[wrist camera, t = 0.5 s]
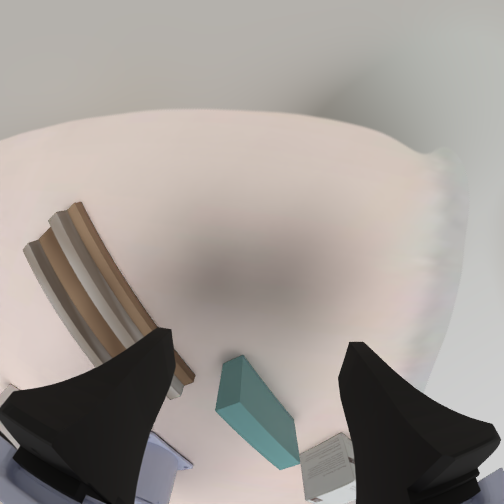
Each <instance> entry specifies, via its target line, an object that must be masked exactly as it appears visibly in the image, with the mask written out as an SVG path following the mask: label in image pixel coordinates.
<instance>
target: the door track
mask: <svg viewBox="0 0 504 504" xmlns="http://www.w3.org/2000/svg"><path fill="white" fill-rule="evenodd" d="M48 222H49V224H50V226H51V227H50V228H49V229H48V230H47V231H46V232H45V233H44V234H43V235H42V237H41V238H40V239H39V240H36V241H33V242H30V243H28V244H27V245H26V246H25V248H24V249H23V252H24V254H25V256H26V258H27V261H28V263H29V265H30V267H31V269H32V271H33V272H34V274H35V276H36V278H37V280H38V282H39V284H40V286H41V287H42V289H43V291H44V293H45V294H46V296H47V298H48V300H49V301H50V303H51V305H52V306H53V308H54V309H55V311H56V313H57V314H58V316H59V317H60V319H61V320H62V322H63V324H64V325H65V327H66V328H67V329H68V331H69V332H70V334H71V335H72V337H73V338H74V340H75V341H76V342H77V344H78V345H79V346H80V348H81V349H82V351H83V352H84V353H85V354H86V356H87V357H88V358H89V360H90V361H91V362H92V363H93V365H94V366H95V367H98V366H100V365H102V364H104V363H105V362H107V361H109V360H110V359H112V358H113V357H115V356H117V355H118V354H120V353H122V352H123V351H125V350H126V349H127V348H129V347H130V346H132V345H133V344H135V343H136V342H137V341H139V340H140V339H142V338H143V337H144V336H146V335H147V334H149V333H150V332H151V331H153V330H154V329H156V328H157V326H156V325H155V323H154V322H153V321H152V319H151V318H150V316H149V315H148V314H147V312H146V311H145V309H144V308H143V306H142V305H141V303H140V302H139V300H138V299H137V297H136V296H135V294H134V293H133V291H132V290H131V288H130V287H129V285H128V284H127V282H126V281H125V279H124V278H123V276H122V274H121V273H120V271H119V269H118V268H117V266H116V265H115V263H114V261H113V260H112V258H111V256H110V255H109V253H108V251H107V249H106V248H105V246H104V244H103V242H102V241H101V239H100V237H99V235H98V233H97V232H96V230H95V228H94V226H93V224H92V222H91V220H90V218H89V217H88V215H87V213H86V211H85V209H84V207H83V205H82V203H81V202H78V203H74V204H73V205H72V206H71V207H70V208H69V209H68V210H65V211H60V212H56V213H55V214H54V215H53V216H52V217H51V218H50V219H49V220H48ZM174 355H175V362H176V368H175V372H174V376H173V379H172V382H171V386H170V388H169V390H168V393H167V395H166V396H167V397H168V398H169V399H170V400H171V399H174V398H177V397H180V396H181V394H182V391H183V388H184V386H185V385H187V384H190V383H193V382H194V379H195V374H194V373H193V372H192V371H191V370H190V369H189V367H188V366H187V365H186V364H185V362H184V361H183V360H182V359H181V357H180V356H179V355H178V354H177V352H176V351H175V350H174Z"/></svg>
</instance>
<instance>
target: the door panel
mask: <svg viewBox="0 0 504 504" xmlns="http://www.w3.org/2000/svg"><path fill="white" fill-rule="evenodd" d="M215 411H216V412H217V413H218V414H219V415H220V416H221V417H222V418H223V419H224V420H225V421H226V422H227V423H228V424H229V425H230V426H231V427H232V428H233V429H234V430H235V431H236V432H237V433H238V434H239V435H240V436H241V437H242V438H243V439H245V440H246V441H247V442H248V443H249V444H250V445H251V446H252V447H253V448H254V449H256V450H257V451H258V452H259V453H260V454H261V455H262V456H264V457H265V458H266V459H267V460H268V461H269V462H271V463H272V464H273V465H274V466H276V467H277V468H278V469H279V470H282V469H285V468H288V467H292V466H295V465H298V464H300V457H299V450H298V444H297V437H296V430H295V424H294V419H293V418H292V417H291V416H290V415H289V413H288V412H287V411H286V410H285V408H284V407H283V406H282V405H281V403H280V402H279V401H278V400H277V398H276V397H275V396H274V395H273V393H272V392H271V391H270V390H269V388H268V387H267V386H266V385H265V383H264V382H263V381H262V379H261V378H260V377H259V375H258V374H257V373H256V372H255V370H254V369H253V368H252V366H251V365H250V364H249V362H248V361H247V360H246V358H245V357H244V355H242V356H239V357H237V358H235V359H233V360H230V361H228V362H226V363H224V364H223V367H222V373H221V379H220V385H219V391H218V397H217V403H216V408H215Z"/></svg>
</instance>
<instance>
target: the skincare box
mask: <svg viewBox="0 0 504 504" xmlns="http://www.w3.org/2000/svg"><path fill="white" fill-rule="evenodd" d="M299 456H300V462H301V470H302V477H303V485H304V493H305V500H306V501H308V502H311V503H314V504H346V503H349V502H351V501H354V500H356V475H355V462H354V452H353V445H352V441H351V440H350V439H348V438H347V437H346V436H345V435H344V434H343V433H340V434H338V435H336V436H334V437H332V438H330V439H329V440H327V441H325V442H323V443H321V444H319V445H317V446H315V447H314V448H312V449H310V450H308V451H306V452H303V453H301V454H300V455H299Z"/></svg>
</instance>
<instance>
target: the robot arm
mask: <svg viewBox="0 0 504 504" xmlns="http://www.w3.org/2000/svg"><path fill="white" fill-rule="evenodd" d="M175 368H176V362H175V355H174V348H173V340H172V331H171V329H166V328H159V327H157V328H156V329H154V330H153V331H151V332H150V333H149V334H147V335H146V336H144V337H143V338H142V339H140V340H139V341H137V342H136V343H135V344H133V345H132V346H130V347H129V348H127V349H126V350H125V351H123V352H122V353H120V354H118V355H117V356H115V357H113V358H112V359H110V360H109V361H107V362H105V363H104V364H102V365H100V366H98V367H96V368H94V369H92V370H90V371H88V372H86V373H84V374H81V375H79V376H76V377H73V378H71V379H68V380H65V381H63V382H59V383H56V384H52V385H48V386H44V387H40V388H34V389H27V390H20V391H13V392H12V393H11V395H10V396H9V397H8V398H7V399H6V401H5V402H4V403H3V404H2V405H1V407H0V421H1V423H2V424H3V425H4V427H5V428H6V429H7V430H8V432H9V433H10V434H11V435H12V437H13V438H14V439H15V440H16V441H17V443H18V444H19V445H20V447H19V448H18V450H17V449H15V448H14V447H13V446H12V445H11V444H10V443H9V442H7V441H6V440H5V439H3V438H2V437H1V436H0V501H1V502H2V503H3V504H169V501H170V497H171V493H172V489H173V484H174V480H175V476H176V472H177V470H185V469H191V468H193V465H192V464H191V463H190V462H189V461H187V460H186V459H185V458H183V457H182V456H181V455H180V454H178V453H177V452H176V451H175V450H173V449H172V448H171V447H170V446H169V445H167V444H166V443H165V442H164V441H163V440H162V439H160V438H159V437H158V436H157V435H156V434H155V433H153V432H151V429H152V427H153V424H154V422H155V420H156V417H157V415H158V413H159V411H160V408H161V406H162V404H163V402H164V400H165V397H166V395H167V393H168V390H169V388H170V386H171V382H172V379H173V376H174V372H175ZM338 381H339V390H340V397H341V402H342V406H343V409H344V413H345V417H346V421H347V424H348V428H349V432H350V436H351V440H352V445H353V452H354V462H355V475H356V504H504V471H503V469H502V468H499V469H498V470H496V471H495V472H493V473H492V474H490V475H488V476H486V477H485V478H483V479H482V480H480V481H479V482H477V480H476V477H477V476H478V475H479V471H478V467H479V466H480V465H481V464H482V463H483V462H484V461H485V460H486V459H487V458H488V457H489V456H490V455H491V454H492V453H493V452H494V451H495V450H496V448H497V447H498V446H499V444H500V441H501V439H500V437H499V435H498V433H497V431H496V429H495V427H494V426H493V424H490V423H487V422H483V421H479V420H476V419H473V418H470V417H467V416H465V415H462V414H460V413H457V412H455V411H453V410H451V409H449V408H447V407H445V406H443V405H441V404H439V403H437V402H436V401H434V400H432V399H431V398H429V397H427V396H426V395H425V394H423V393H422V392H420V391H419V390H417V389H416V388H414V387H413V386H412V385H411V384H409V383H408V382H407V381H406V380H404V379H403V378H402V377H401V376H400V375H398V374H397V373H396V372H395V371H394V370H393V369H392V368H391V367H390V366H388V365H387V364H386V363H385V362H384V361H383V360H382V359H381V358H380V357H379V356H378V355H377V354H376V353H375V352H374V351H373V350H372V349H371V348H369V347H368V346H367V345H366V344H365V343H364V342H349V345H348V348H347V352H346V355H345V358H344V361H343V364H342V368H341V371H340V374H339V377H338Z"/></svg>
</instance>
